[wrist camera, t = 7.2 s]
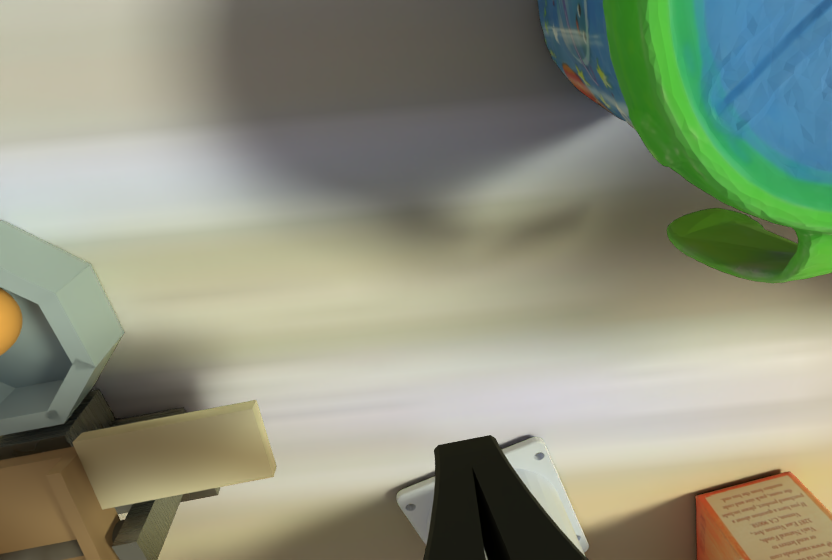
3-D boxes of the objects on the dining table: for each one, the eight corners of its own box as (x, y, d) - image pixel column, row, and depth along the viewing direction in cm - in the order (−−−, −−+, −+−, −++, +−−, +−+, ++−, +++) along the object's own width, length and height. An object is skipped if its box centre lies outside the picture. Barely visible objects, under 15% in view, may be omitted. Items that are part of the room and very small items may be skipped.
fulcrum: (220, 486, 24) (186, 593, 19) (31, 522, 24) (-49, 639, 19) (169, 376, 21) (114, 471, 16) (-48, 417, 21) (-165, 524, 16)
